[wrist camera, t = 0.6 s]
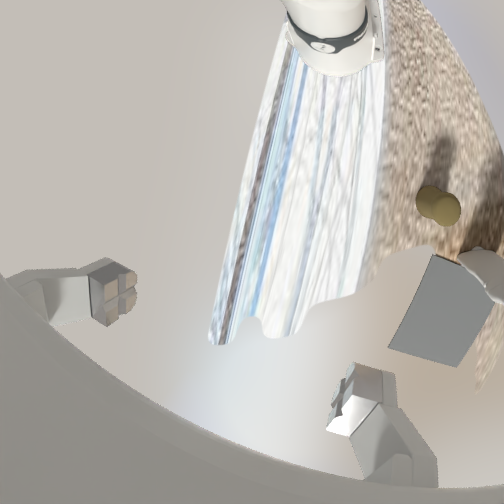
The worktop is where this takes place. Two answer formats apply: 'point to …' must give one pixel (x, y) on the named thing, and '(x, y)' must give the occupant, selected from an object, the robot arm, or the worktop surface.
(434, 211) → the cork
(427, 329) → the mat
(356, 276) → the worktop surface
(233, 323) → the worktop surface
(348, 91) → the worktop surface
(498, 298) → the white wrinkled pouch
